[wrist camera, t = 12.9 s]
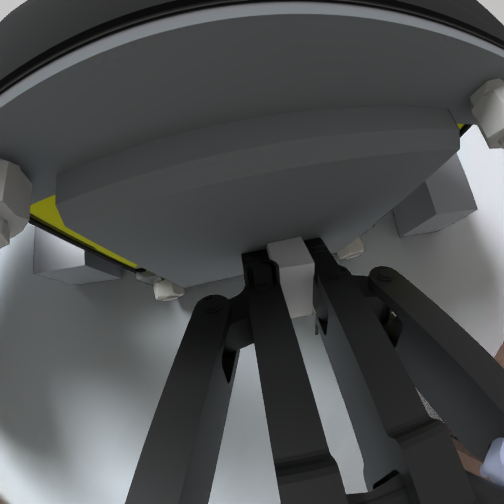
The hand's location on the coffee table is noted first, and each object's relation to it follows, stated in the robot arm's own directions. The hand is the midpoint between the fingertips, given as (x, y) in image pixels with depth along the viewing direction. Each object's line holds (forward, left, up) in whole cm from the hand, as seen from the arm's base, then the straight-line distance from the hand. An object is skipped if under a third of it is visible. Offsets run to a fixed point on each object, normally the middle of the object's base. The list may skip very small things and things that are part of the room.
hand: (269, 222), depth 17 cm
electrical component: (-1, +2, -6) cm, 7 cm away
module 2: (+14, +5, -6) cm, 17 cm away
